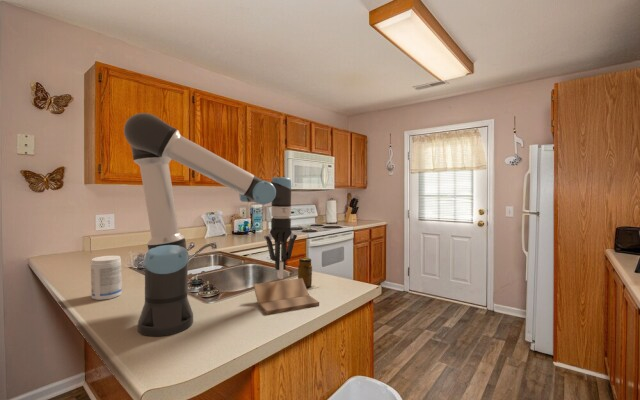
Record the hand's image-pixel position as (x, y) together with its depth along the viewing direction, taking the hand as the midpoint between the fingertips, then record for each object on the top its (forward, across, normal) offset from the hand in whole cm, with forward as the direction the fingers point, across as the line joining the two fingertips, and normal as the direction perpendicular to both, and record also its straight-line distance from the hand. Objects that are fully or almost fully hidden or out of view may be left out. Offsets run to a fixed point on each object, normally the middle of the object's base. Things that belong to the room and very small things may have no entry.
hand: (280, 277), depth 123 cm
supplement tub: (+8, -59, +28) cm, 66 cm away
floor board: (+8, 0, -10) cm, 13 cm away
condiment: (+8, +15, +8) cm, 19 cm away
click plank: (+5, 0, -2) cm, 5 cm away
